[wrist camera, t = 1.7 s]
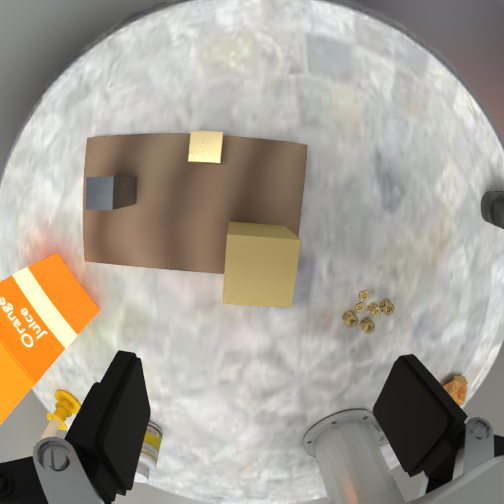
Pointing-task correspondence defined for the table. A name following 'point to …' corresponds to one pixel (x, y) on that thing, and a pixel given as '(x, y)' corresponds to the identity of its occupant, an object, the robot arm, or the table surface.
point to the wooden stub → (206, 147)
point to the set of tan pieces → (366, 323)
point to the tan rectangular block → (260, 265)
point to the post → (110, 192)
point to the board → (188, 198)
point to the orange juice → (37, 324)
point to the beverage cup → (493, 208)
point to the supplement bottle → (148, 453)
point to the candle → (61, 413)
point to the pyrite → (457, 389)
